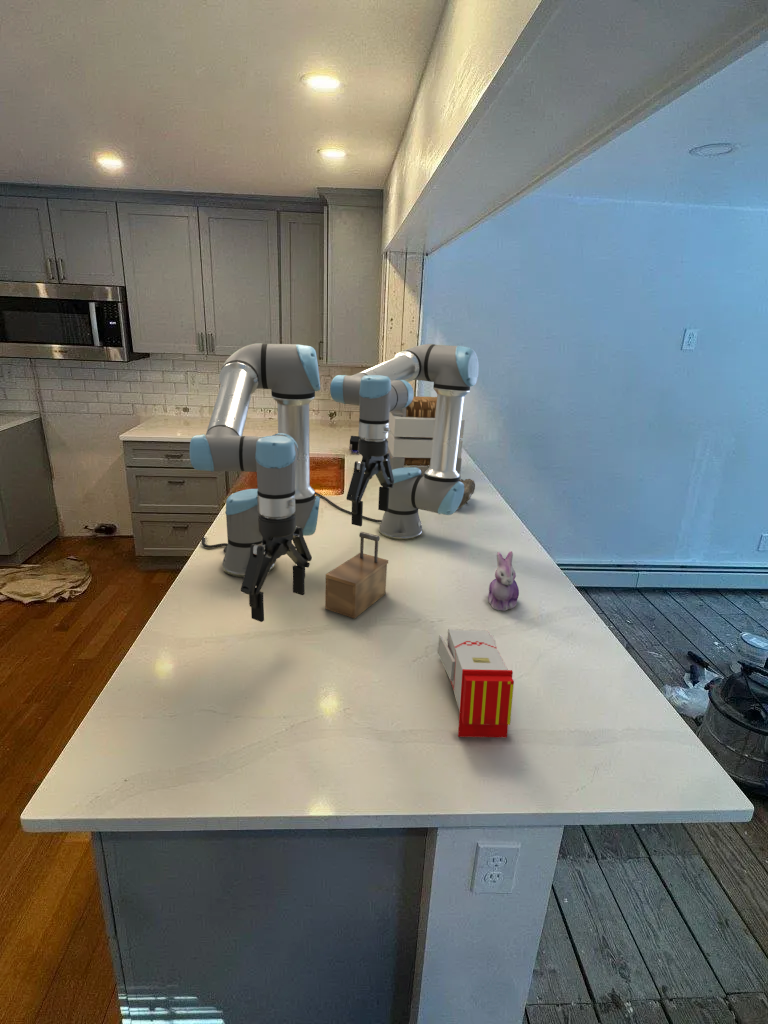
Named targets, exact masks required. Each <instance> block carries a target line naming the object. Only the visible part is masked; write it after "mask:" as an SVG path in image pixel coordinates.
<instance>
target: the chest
mask: <svg viewBox="0 0 768 1024" xmlns="http://www.w3.org/2000/svg"><path fill="white" fill-rule="evenodd" d="M387 570H388V564H387V565H385V566H384V567H382V568H381V569H380V570H378V571H377V572H375V573H374V574H373V575H371V576H370V577H368V578H367V579H366V580H364V581H363V582H361V583H360V584H359V585H357V586H356V587H355V586H351V585H348V584H345V583H342V582H339V581H335V580H332V579H329V578H326V577H325V587H324V588H325V590H324V591H325V592H324V595H325V597H324V598H325V601H324V603H325V606H324V607H325V608H324V609H325V610H327V611H330V612H334V613H336V614H340V615H343V616H345V617H348V618H351V619H354V620H356V618H358V617H359V616H360V615H361V614H362V613H364V612H365V611H366V610H368V609H369V608H370V607H372V605H374V604H375V603H376V602H377V601H379V600H380V599H381V598H383V597H384V596H385V595H386V593H387V592H386V589H387V573H388V571H387Z"/></svg>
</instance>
